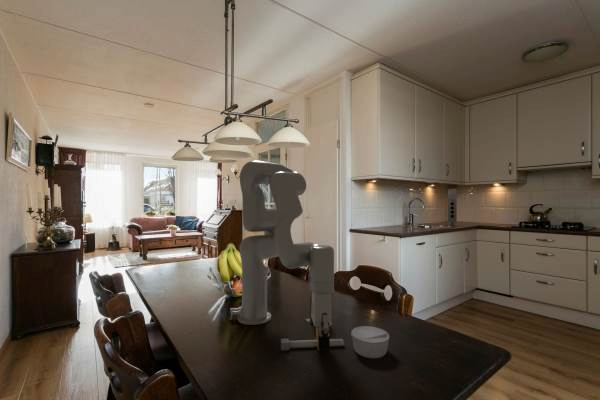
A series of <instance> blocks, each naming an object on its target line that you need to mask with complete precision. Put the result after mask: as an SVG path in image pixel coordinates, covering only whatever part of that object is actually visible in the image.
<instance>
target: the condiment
mask: <svg viewBox="0 0 600 400" xmlns="http://www.w3.org/2000/svg"><path fill="white" fill-rule="evenodd" d="M311 308H312V292H311V291H310V297H309V318H305V319H304V320H305V321H306V322H307V323H309V324H311V325H312V326H313V327H315V326H314V324H313V321H312V317H311ZM331 325H333V323H332V322H331ZM331 325H330V326H331Z"/></svg>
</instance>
